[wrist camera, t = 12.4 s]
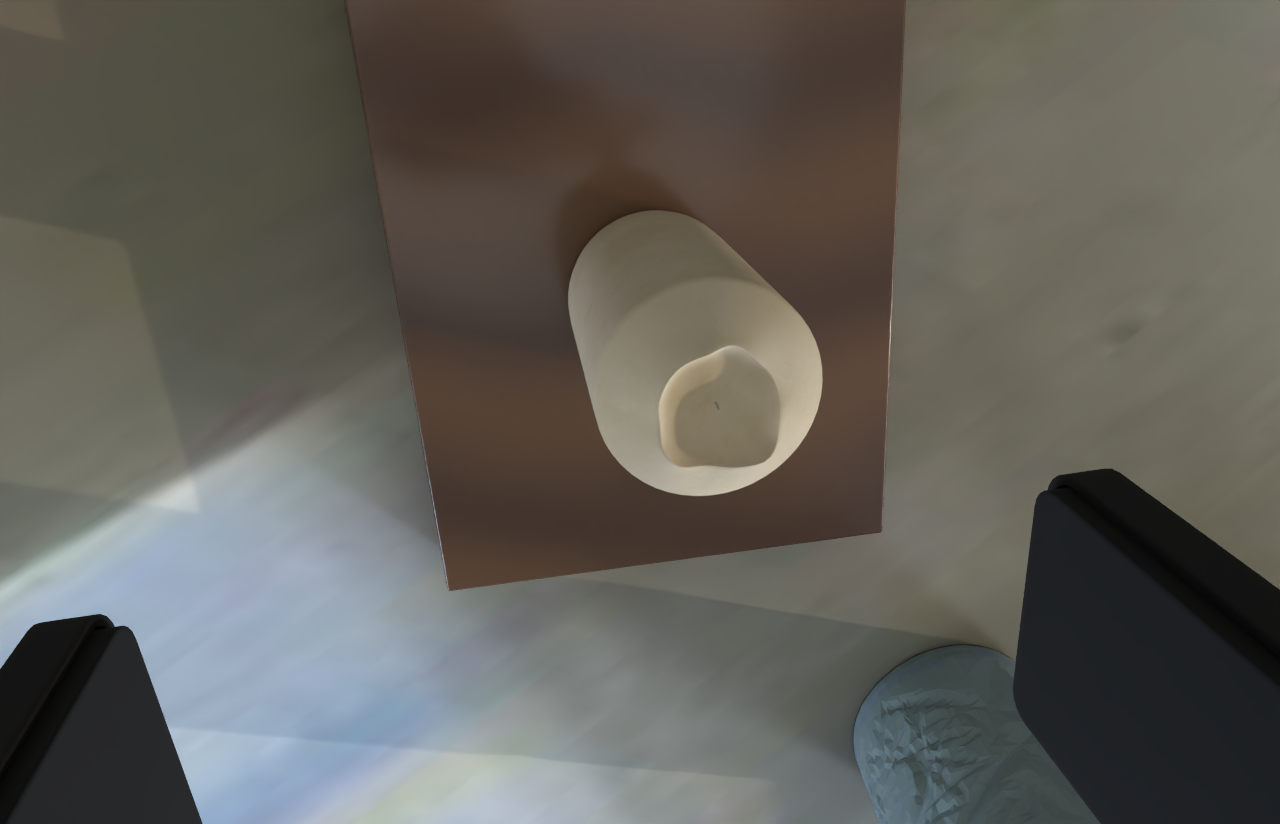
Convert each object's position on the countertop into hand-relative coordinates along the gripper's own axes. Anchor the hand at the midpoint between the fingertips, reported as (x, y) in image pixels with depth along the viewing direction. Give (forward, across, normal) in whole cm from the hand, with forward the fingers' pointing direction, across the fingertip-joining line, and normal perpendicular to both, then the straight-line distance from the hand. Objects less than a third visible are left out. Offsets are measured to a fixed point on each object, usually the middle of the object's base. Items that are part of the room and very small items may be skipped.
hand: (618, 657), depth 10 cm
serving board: (+23, -4, +3) cm, 23 cm away
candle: (+21, -4, +2) cm, 21 cm away
